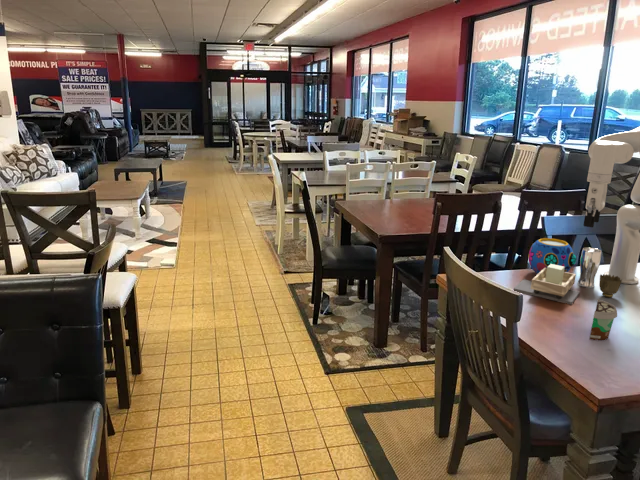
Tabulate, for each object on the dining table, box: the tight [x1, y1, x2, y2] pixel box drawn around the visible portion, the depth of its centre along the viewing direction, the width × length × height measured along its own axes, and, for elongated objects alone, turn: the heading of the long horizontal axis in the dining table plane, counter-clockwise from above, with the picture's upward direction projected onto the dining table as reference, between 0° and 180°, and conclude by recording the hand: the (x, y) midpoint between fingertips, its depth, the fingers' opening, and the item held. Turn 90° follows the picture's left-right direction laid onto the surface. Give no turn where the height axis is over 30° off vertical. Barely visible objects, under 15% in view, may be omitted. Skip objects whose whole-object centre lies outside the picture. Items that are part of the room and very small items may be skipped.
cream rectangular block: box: [545, 264, 565, 285], centre depth 194 cm, size 5×5×7 cm
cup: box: [598, 274, 622, 299], centre depth 193 cm, size 8×7×8 cm
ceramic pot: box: [527, 237, 577, 275], centre depth 213 cm, size 18×18×15 cm
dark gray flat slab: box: [513, 279, 580, 306], centre depth 197 cm, size 13×21×1 cm, turn 53°
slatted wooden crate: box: [531, 268, 577, 299], centre depth 195 cm, size 18×12×6 cm, turn 143°
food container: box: [589, 299, 618, 342], centre depth 161 cm, size 12×6×10 cm, turn 148°
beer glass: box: [577, 247, 602, 289], centre depth 203 cm, size 7×7×15 cm
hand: (590, 224), depth 187 cm, fingers open, 9 cm apart
